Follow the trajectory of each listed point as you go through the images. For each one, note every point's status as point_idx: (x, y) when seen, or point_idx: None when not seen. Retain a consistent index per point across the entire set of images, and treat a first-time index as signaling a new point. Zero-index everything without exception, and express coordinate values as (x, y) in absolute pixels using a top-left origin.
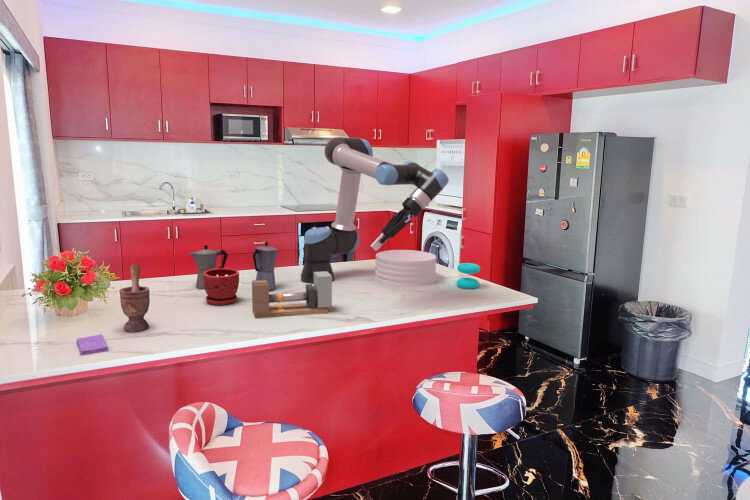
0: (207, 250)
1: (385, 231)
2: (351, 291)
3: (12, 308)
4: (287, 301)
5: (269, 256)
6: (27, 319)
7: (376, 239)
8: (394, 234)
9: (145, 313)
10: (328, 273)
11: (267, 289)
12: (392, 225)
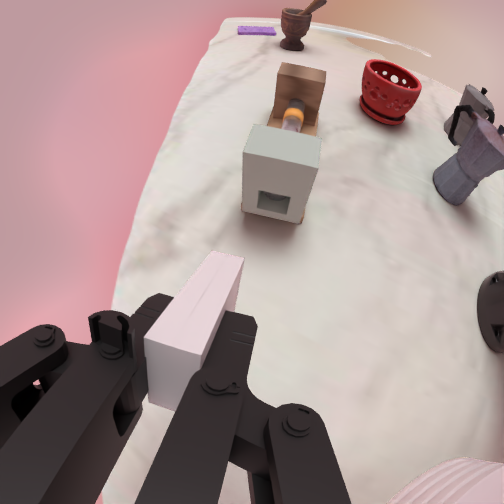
0: (479, 93)
1: (179, 408)
2: (402, 356)
3: (379, 36)
4: None
5: (474, 138)
6: (347, 31)
7: (224, 292)
8: (25, 396)
9: (287, 34)
10: (283, 158)
11: (277, 79)
12: (21, 471)
